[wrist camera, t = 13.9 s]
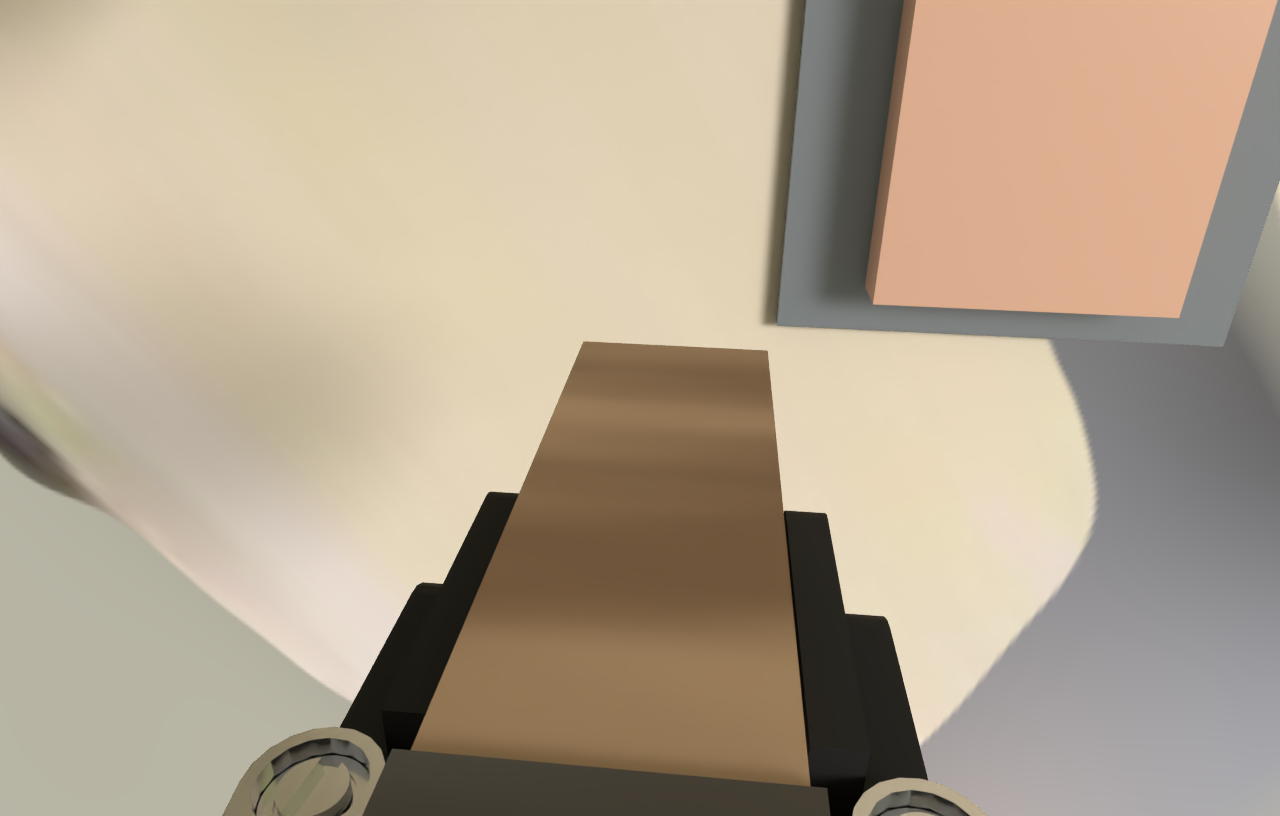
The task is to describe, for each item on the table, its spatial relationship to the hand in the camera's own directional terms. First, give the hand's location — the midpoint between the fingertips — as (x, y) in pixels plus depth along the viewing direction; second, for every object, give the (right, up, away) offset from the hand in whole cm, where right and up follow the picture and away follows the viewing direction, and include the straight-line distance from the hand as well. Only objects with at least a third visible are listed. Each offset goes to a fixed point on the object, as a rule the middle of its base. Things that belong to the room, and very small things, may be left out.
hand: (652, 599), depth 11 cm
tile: (+13, +16, +13) cm, 25 cm away
